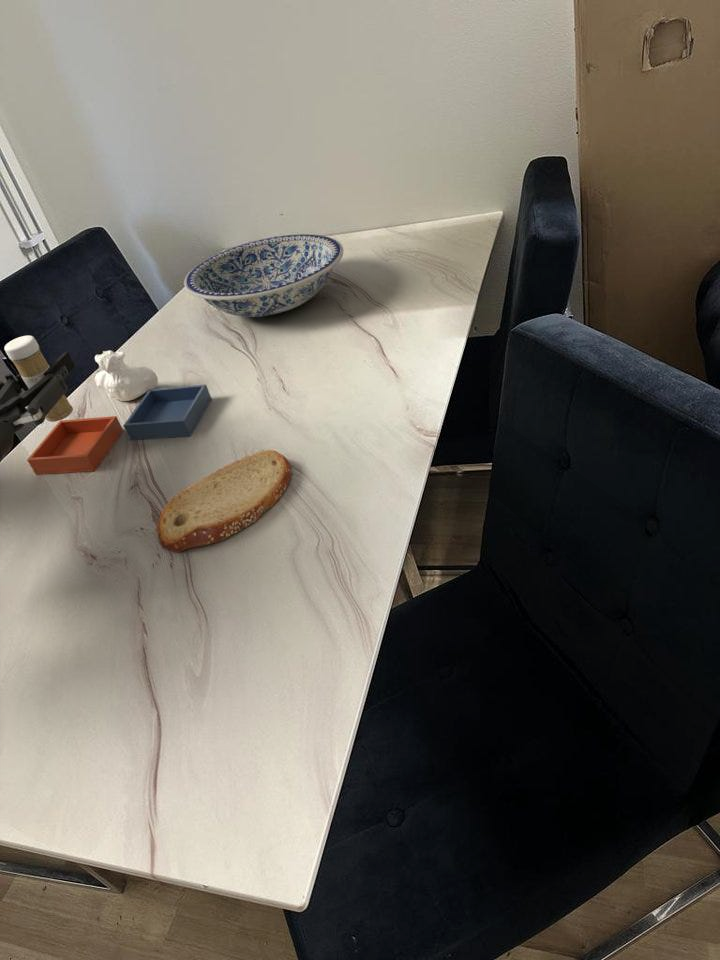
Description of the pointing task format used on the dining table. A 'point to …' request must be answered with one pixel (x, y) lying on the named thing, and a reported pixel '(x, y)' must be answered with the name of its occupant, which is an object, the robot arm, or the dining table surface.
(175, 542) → the slice of bread
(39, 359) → the sprinkles bottle
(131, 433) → the slate tray
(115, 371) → the white animal figurine
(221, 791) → the dining table surface
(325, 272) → the ceramic bowl
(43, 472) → the terracotta tray
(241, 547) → the dining table surface
